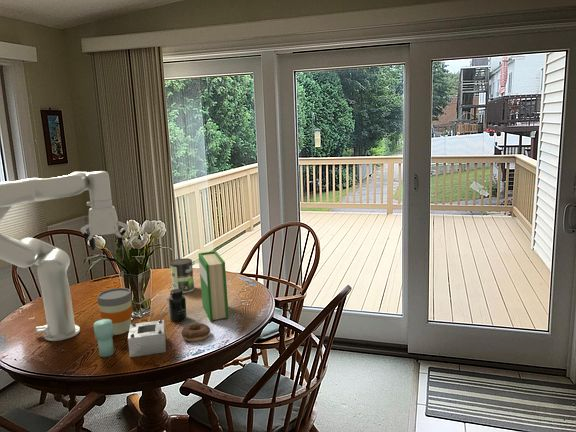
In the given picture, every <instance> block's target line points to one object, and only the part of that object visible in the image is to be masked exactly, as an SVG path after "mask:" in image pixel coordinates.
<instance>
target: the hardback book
mask: <svg viewBox="0 0 576 432" xmlns="http://www.w3.org/2000/svg"><path fill="white" fill-rule="evenodd" d="M198 264H199V277H200V287H201V288H200V289H201V302H202V308H203V310H204V312H205V314H206V316H207V318H208V320H209V322H210V323H214V320H219V319H226V320H230V318H229V316H230V315H229V314H230V313H229V302H228V301H229V299H228V288H227V287H228V286H227V275H226V274H227V272H226V261H225V260H224V259H223V257H221V255H220V254H219V253H218V252H217V251H216V250H213V251H206V252H198Z"/></svg>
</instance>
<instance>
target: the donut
mask: <svg viewBox="0 0 576 432" xmlns="http://www.w3.org/2000/svg"><path fill="white" fill-rule="evenodd" d="M210 333H211V328H210V327H209V326H208V324H205V323H201V322H197V323H190V324H187V325H185V326H183V328H182V330H181V332H180V334H181V337H182V338H183V340H185V341H187V342H200V341H203V340H205V339H207V338H208V337H209V336H210Z"/></svg>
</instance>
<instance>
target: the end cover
mask: <svg viewBox="0 0 576 432" xmlns="http://www.w3.org/2000/svg"><path fill="white" fill-rule="evenodd" d="M92 324H93V333H94V338H95V340H97V345H98V352H99V353H98V355H99V357H100V358H101V357H102V358H108V357H111V356H112V355H114V353H115V350H114V349H115V348H114V341H113V336H115V335H114V333H113V325H112V320H110V319H102V318H101V319H99V320H97V321H95V322H94V323H92Z"/></svg>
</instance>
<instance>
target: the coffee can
mask: <svg viewBox="0 0 576 432" xmlns="http://www.w3.org/2000/svg"><path fill="white" fill-rule="evenodd" d="M169 265H170V276H171V285H172V290H174V289H181V290H182V292H183V294H186V293H190V292H193V291H194V290H195V282H194V270H193V269H194V268H193V259H192V258H188V257H187V258H185V257H184V258H177V259H174V260H171V261H170V262H169Z"/></svg>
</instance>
